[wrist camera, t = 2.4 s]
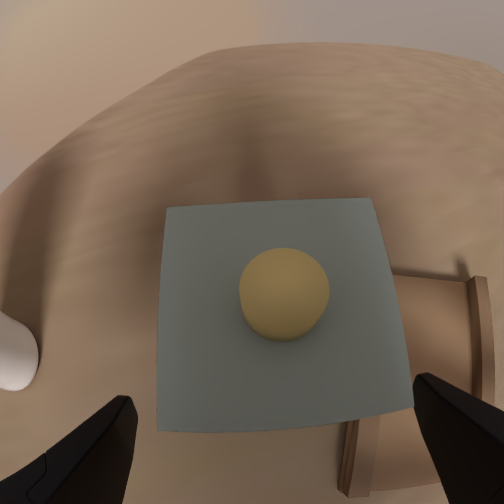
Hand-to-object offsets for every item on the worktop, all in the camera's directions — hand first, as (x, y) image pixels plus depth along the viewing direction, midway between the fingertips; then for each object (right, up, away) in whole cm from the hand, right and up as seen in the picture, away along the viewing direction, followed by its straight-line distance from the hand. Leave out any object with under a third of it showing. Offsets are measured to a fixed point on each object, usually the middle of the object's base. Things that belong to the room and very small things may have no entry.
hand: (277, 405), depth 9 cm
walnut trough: (+10, -4, +8) cm, 14 cm away
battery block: (0, -3, +9) cm, 10 cm away
